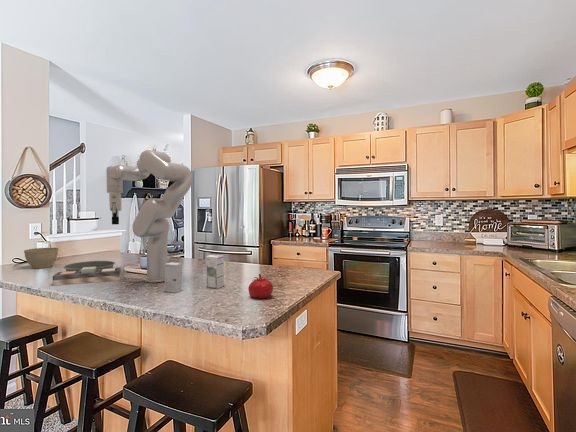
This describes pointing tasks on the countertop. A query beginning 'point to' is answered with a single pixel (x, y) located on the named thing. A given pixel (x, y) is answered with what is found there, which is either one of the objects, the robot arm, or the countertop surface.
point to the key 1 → (68, 273)
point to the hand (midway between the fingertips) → (115, 224)
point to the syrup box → (215, 271)
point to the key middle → (88, 269)
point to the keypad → (86, 277)
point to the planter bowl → (41, 257)
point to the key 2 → (108, 270)
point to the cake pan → (89, 265)
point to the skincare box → (173, 277)
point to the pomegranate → (260, 288)
